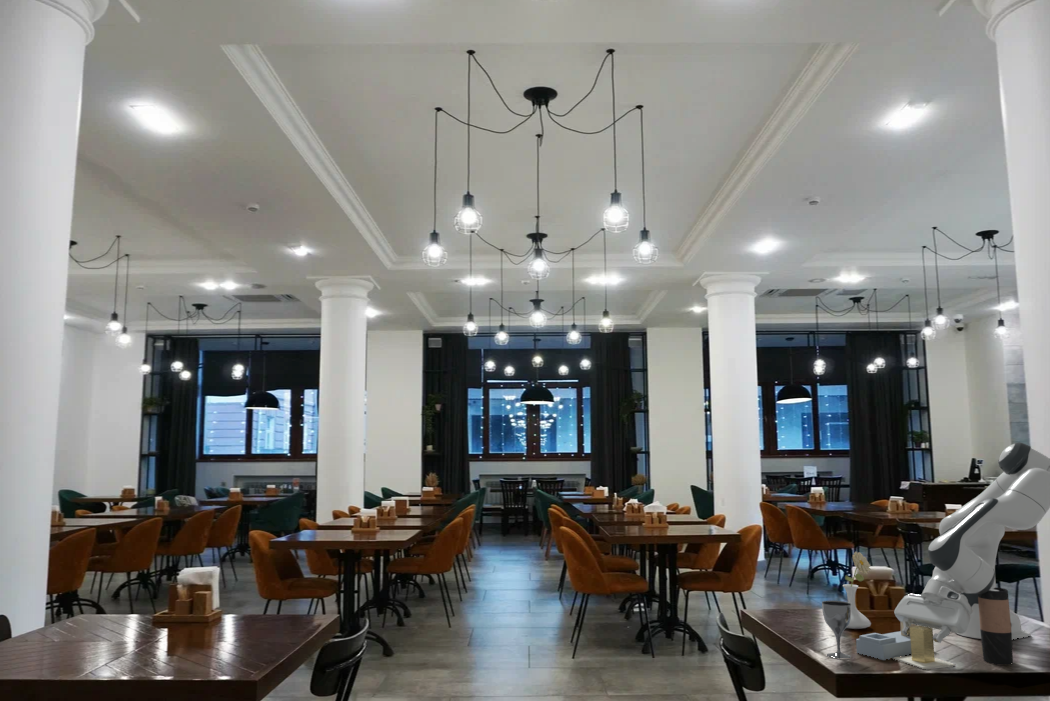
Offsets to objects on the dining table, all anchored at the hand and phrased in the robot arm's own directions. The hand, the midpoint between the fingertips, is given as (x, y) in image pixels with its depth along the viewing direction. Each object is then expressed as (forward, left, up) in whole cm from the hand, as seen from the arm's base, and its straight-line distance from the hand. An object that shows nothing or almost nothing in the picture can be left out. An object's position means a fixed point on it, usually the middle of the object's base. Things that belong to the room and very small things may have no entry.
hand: (920, 637), depth 219 cm
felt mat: (-1, 0, -7) cm, 7 cm away
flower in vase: (-13, -43, -7) cm, 46 cm away
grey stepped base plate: (-2, -13, -7) cm, 15 cm away
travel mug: (-22, +5, -7) cm, 24 cm away
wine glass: (+17, -13, -7) cm, 23 cm away
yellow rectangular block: (-1, 0, -6) cm, 6 cm away
